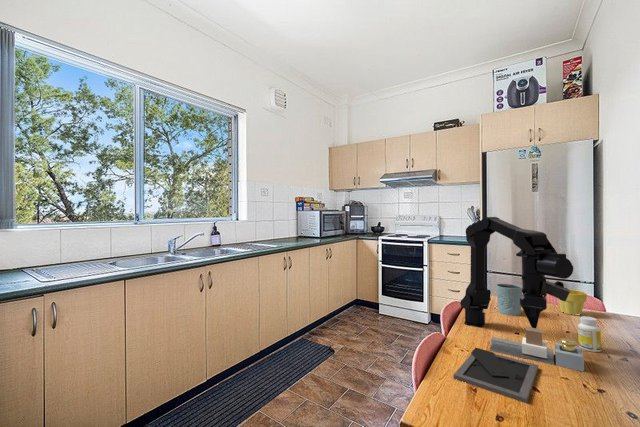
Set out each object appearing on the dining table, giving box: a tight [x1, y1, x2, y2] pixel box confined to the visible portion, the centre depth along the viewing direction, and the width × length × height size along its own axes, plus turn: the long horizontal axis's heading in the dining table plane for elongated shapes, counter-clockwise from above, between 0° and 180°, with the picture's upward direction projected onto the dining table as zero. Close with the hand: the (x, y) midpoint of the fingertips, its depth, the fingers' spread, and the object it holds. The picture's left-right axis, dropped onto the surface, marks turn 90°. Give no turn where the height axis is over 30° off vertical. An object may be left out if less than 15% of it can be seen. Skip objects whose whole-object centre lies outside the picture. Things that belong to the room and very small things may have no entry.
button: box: [559, 337, 577, 353], centre depth 86 cm, size 4×4×4 cm
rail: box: [489, 336, 555, 366], centre depth 93 cm, size 16×8×3 cm, turn 53°
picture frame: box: [453, 347, 539, 404], centre depth 80 cm, size 16×2×21 cm
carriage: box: [521, 326, 548, 358], centre depth 91 cm, size 6×6×7 cm
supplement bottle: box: [577, 315, 602, 353], centre depth 95 cm, size 5×5×10 cm
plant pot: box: [557, 288, 588, 315], centre depth 131 cm, size 10×10×10 cm
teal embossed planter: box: [495, 283, 523, 317], centre depth 133 cm, size 10×10×12 cm
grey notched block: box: [554, 342, 585, 372], centre depth 86 cm, size 6×8×4 cm
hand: (534, 323), depth 91 cm, fingers open, 9 cm apart
